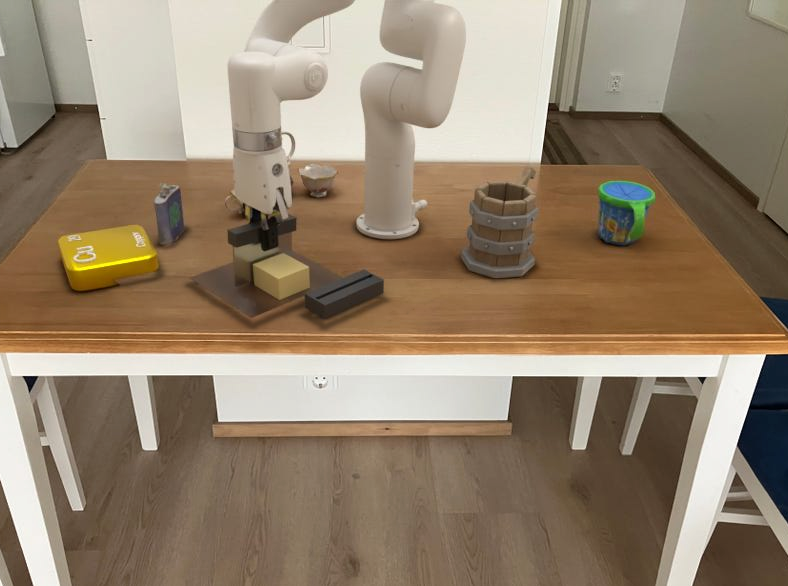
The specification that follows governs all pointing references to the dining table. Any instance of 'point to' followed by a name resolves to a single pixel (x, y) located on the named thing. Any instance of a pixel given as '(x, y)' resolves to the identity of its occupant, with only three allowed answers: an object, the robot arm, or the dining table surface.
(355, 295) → the scraper stand
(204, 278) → the cutting board
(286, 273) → the butter
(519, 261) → the tankard
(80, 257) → the element tile
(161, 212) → the flask
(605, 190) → the snack cup
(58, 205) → the dining table surface
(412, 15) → the robot arm
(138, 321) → the dining table surface
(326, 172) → the chinaware
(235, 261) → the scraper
